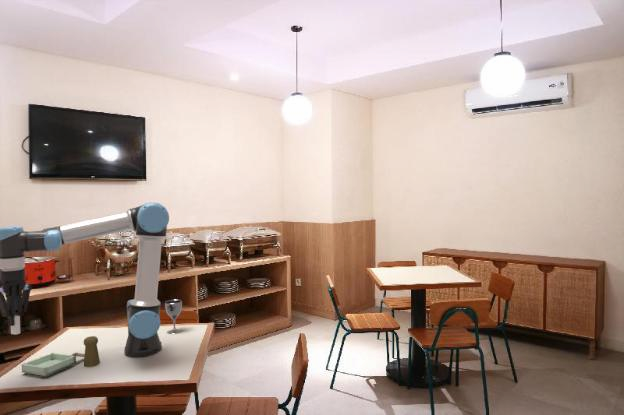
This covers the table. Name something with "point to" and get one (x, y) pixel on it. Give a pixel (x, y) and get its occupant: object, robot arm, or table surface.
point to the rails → (60, 370)
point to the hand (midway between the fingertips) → (15, 333)
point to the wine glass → (173, 312)
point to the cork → (91, 352)
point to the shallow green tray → (48, 364)
